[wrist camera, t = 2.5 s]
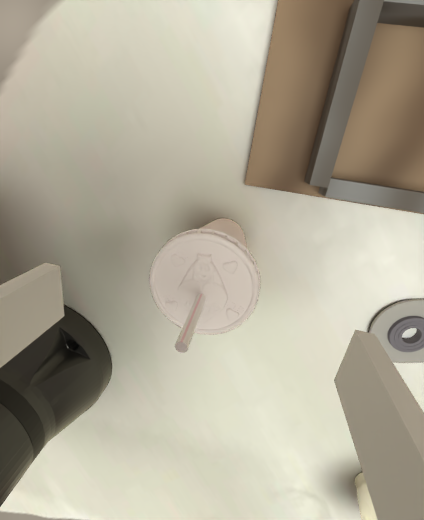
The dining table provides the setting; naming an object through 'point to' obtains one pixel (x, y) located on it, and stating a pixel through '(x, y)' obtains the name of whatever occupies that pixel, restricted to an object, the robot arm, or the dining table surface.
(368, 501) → the domed lid cup
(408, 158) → the keeper board
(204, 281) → the smoothie
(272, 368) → the dining table surface
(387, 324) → the grey arched plates
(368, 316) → the dining table surface
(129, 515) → the dining table surface
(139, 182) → the dining table surface
